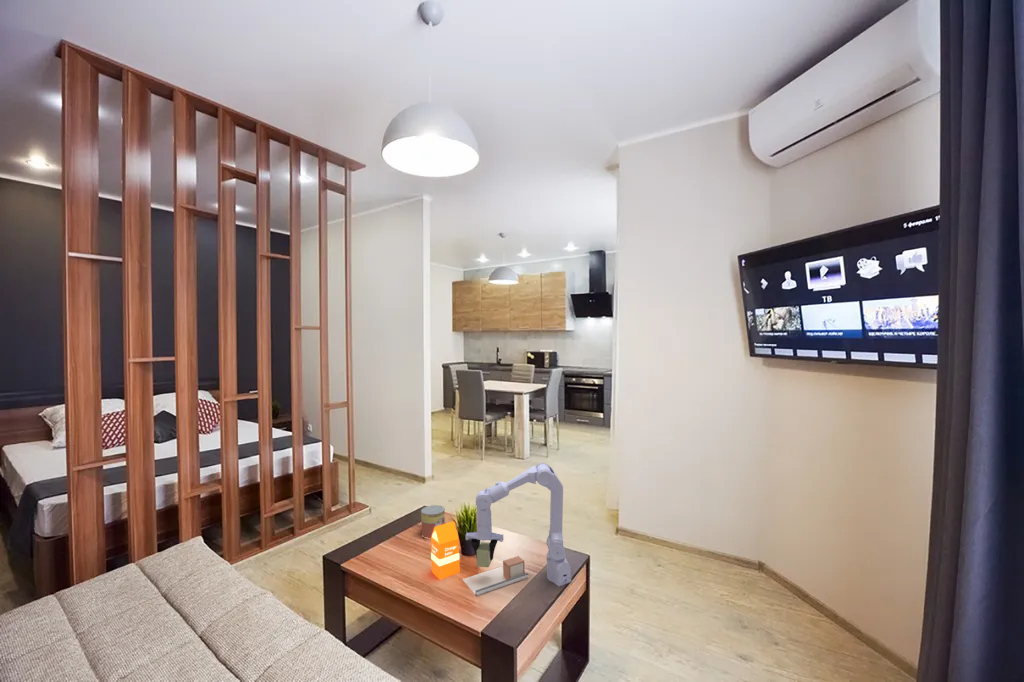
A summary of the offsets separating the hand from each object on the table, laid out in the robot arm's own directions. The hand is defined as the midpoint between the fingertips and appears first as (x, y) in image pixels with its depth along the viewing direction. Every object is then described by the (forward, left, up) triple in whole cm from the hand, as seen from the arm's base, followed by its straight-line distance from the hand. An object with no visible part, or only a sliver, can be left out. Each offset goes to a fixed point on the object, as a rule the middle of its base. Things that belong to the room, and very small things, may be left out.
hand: (485, 558), depth 164 cm
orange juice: (+14, +11, -9) cm, 20 cm away
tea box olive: (0, 0, -1) cm, 1 cm away
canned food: (+51, +3, -9) cm, 52 cm away
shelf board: (-1, -4, -9) cm, 10 cm away
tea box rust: (-4, -11, -8) cm, 14 cm away
